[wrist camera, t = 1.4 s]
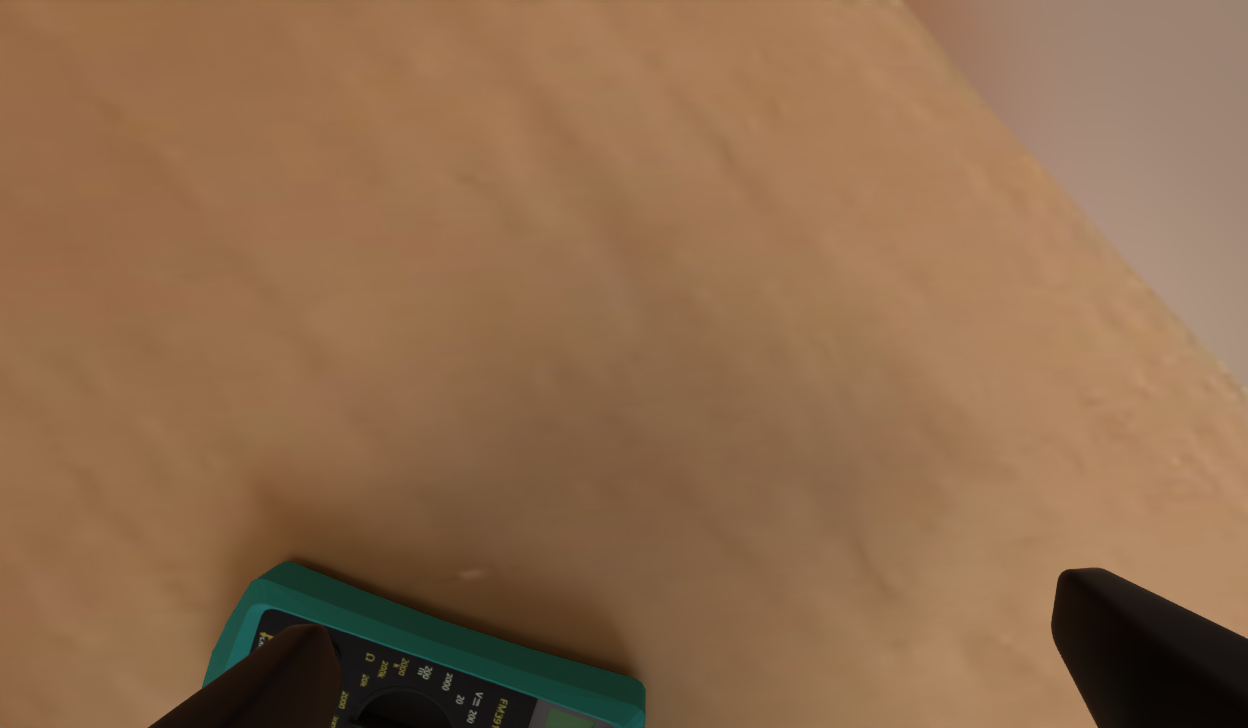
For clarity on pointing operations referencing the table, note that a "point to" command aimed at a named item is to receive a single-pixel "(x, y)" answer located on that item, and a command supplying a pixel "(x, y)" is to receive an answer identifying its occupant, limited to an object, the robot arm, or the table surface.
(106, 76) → the table surface
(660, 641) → the table surface
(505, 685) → the digital multimeter
